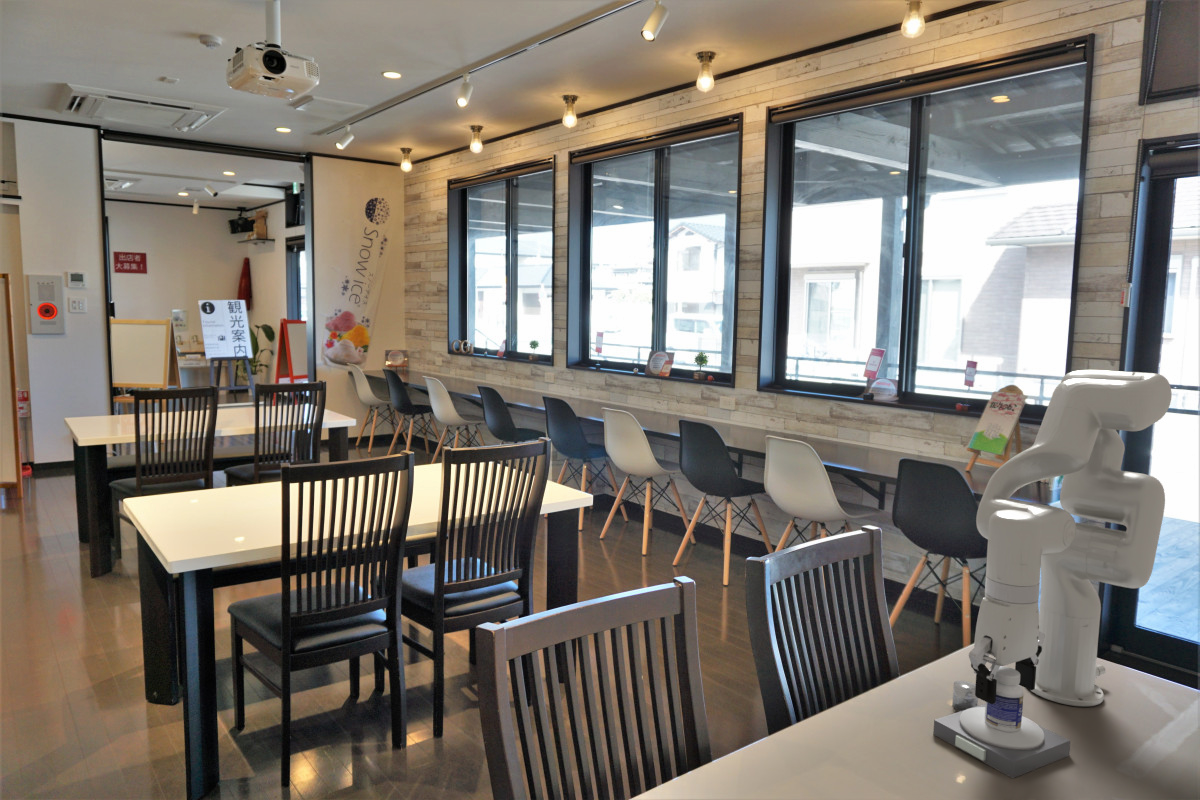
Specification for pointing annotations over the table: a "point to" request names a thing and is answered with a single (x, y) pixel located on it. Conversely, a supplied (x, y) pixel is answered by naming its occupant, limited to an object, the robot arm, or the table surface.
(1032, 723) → the scale
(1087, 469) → the robot arm
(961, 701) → the cylinder
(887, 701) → the table surface
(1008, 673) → the pill bottle
